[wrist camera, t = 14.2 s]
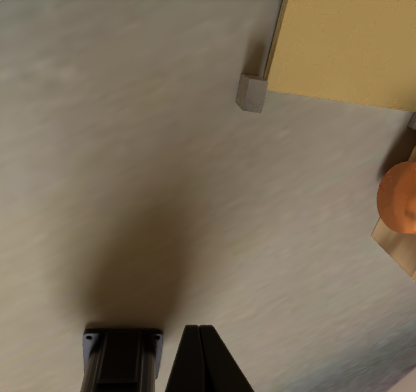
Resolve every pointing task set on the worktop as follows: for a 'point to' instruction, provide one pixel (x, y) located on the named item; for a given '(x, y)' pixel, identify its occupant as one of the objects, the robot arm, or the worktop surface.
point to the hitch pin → (398, 198)
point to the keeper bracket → (255, 94)
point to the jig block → (398, 242)
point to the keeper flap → (346, 51)
